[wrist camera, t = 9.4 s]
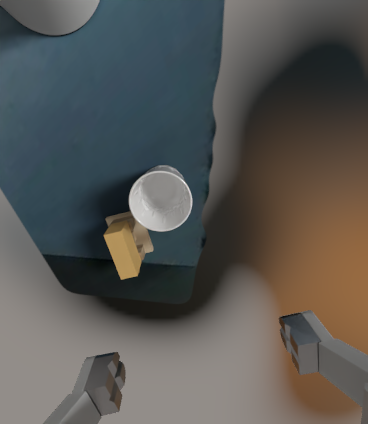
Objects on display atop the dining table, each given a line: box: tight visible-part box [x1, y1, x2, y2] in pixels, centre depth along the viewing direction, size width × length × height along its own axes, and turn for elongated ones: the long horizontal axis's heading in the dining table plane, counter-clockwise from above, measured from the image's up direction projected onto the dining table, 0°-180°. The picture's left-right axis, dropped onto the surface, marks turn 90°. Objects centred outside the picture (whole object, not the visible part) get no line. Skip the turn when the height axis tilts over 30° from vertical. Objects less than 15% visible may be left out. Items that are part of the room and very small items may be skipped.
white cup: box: [129, 165, 192, 231], centre depth 32 cm, size 8×8×10 cm
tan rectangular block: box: [103, 220, 141, 280], centre depth 34 cm, size 8×3×4 cm, turn 13°
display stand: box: [106, 211, 153, 260], centre depth 38 cm, size 8×6×4 cm
